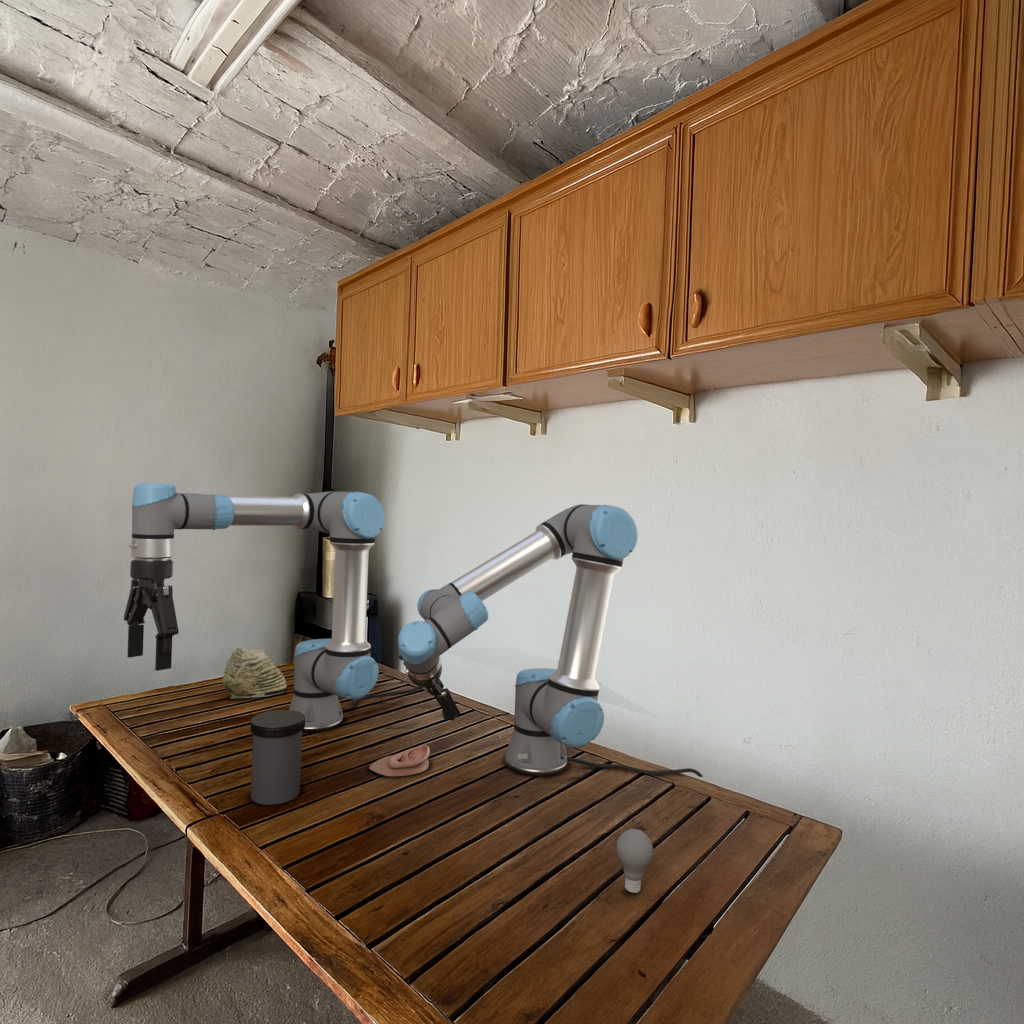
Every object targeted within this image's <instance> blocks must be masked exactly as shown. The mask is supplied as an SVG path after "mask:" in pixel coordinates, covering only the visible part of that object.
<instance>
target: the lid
mask: <svg viewBox="0 0 1024 1024" xmlns="http://www.w3.org/2000/svg"><path fill="white" fill-rule="evenodd" d="M304 727H305V715H304V714H303V713H301V712H298V711H293V710H289V709H275V710H269V711H264V712H261V713H258V714H256V715H254V716H253V717H252V718H251V719H250V733H251V734H252V735H253V734H254V735H256V736H259V737H266V738H278V737H286V736H290V735H294V734H296V733H299V732H300V731H302V730H303V729H304Z"/></svg>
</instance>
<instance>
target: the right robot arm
mask: <svg viewBox="0 0 1024 1024" xmlns="http://www.w3.org/2000/svg"><path fill="white" fill-rule="evenodd" d="M638 536H639V535H638V527H637V523H636V522H635V520H634V518H633V517H632V515H631V514H630V513H629V512H628V511H627V510H625V509H624V508H621V507H619V506H614V505H611V504H609V505H608V504H582V503H581V504H580V503H579V504H575V505H572V506H570V507H568V508H566V509H563V510H562V511H560V512H557V513H556V514H555V515H553V516H551V517H549V518H548V519H546V520H544V521H543V522H541V523H539V524H538V525H537V526H536V527H535V531H534V532H533V533H531V534H529V535H527V536H526V537H524V538H523V539H521V540H519V541H518V542H516V543H513V545H510V546H509V547H508V548H506V549H504V550H503V551H501V552H499V553H498V554H495V555H494V556H492V557H491V558H490V559H487V560H486V561H484V562H482V563H480V564H479V565H477V566H476V567H474V568H473V569H471V570H469V571H468V572H466V573H464V574H462V575H461V576H460V577H457V578H456V579H454V580H453V581H450V582H449V583H446V584H445V585H444V586H442V587H440V588H434V589H428V590H425V591H424V592H423V593H422V594H421V595H420V596H419V598H418V599H417V605H416V606H417V608H416V609H417V612H418V615H419V616H420V617H421V618H422V619H423V620H416V621H411V622H408V623H406V624H405V625H404V626H403V628H401V630H400V632H399V634H398V639H397V645H398V652H399V655H398V659H399V660H400V661H403V662H402V663H403V665H404V667H405V670H404V672H405V674H406V675H407V676H408V678H409V681H411V683H412V684H414V685H416V687H418V686H421V687H420V688H425V689H426V691H427V693H429V695H431V696H432V697H434V699H435V700H436V702H437V703H438V704H439V706H440V708H441V709H442V710H441V713H442V717H443V719H444V721H446V722H447V721H448V720H450V721H452V722H453V721H454V720H456V719H457V718H458V717H459V716H460V715H461V711H460V709H459V708H458V706H457V704H456V702H455V701H454V698H453V697H452V695H451V692H450V690H449V689H448V688H447V687H444V686H445V685H444V683H443V681H442V680H441V679H440V678H441V675H442V672H443V665H442V661H441V660H442V659H441V655H443V654H444V653H446V652H447V651H448V650H450V649H451V648H453V647H454V646H455V645H456V644H458V643H459V642H461V641H462V640H463V639H466V638H467V637H468V636H470V634H472V633H474V632H475V631H477V630H478V629H479V628H480V627H482V626H483V625H484V624H485V623H486V622H487V621H488V619H489V617H490V616H489V615H490V614H489V611H488V609H487V606H486V605H485V603H484V601H485V600H487V599H489V598H490V597H492V596H493V595H495V594H497V593H498V592H500V591H501V590H503V589H504V588H506V587H508V586H510V585H511V584H513V583H514V582H516V581H518V580H519V579H520V578H523V577H524V576H526V575H527V574H529V573H530V572H532V571H534V570H535V569H537V568H538V567H540V566H542V565H544V564H545V563H547V562H548V561H550V560H555V561H556V560H557V561H558V560H559V559H561V558H562V557H564V556H567V555H570V554H571V560H572V562H573V563H574V565H575V568H576V569H575V576H574V580H573V585H572V586H573V587H572V590H571V591H572V592H571V594H570V601H569V606H568V611H567V616H566V621H565V628H564V631H563V638H562V642H561V647H560V653H559V658H558V664H557V669H556V668H548V667H547V668H545V667H541V668H540V667H539V668H537V667H536V668H526V669H522V670H520V671H518V673H517V674H516V680H515V683H514V684H515V685H514V687H515V692H514V696H515V697H514V716H513V717H514V720H513V723H514V724H513V731H512V734H511V737H510V740H509V742H508V745H507V748H506V751H505V755H504V756H505V757H504V763H505V765H506V766H507V767H508V768H509V769H511V770H512V771H514V772H516V773H519V774H522V775H527V776H533V777H547V776H554V775H558V774H560V773H562V772H564V771H565V770H566V769H567V767H568V762H570V763H571V762H572V763H576V764H581V765H585V766H588V767H592V768H599V769H622V770H627V771H633V772H635V773H641V774H644V775H668V774H683V773H692V774H695V775H696V776H697V777H699V778H703V777H704V776H703V774H702V773H701V772H700V771H699V770H697V769H694V768H689V767H687V768H679V769H678V768H677V769H658V770H652V769H651V770H650V769H643V768H638V767H635V766H630V765H627V764H617V763H616V764H615V763H596V762H590V761H586V760H583V759H578V758H574V757H570V756H568V754H567V750H566V747H569V748H573V749H576V748H582V747H585V746H587V745H589V744H590V743H591V742H592V741H593V740H595V739H596V738H597V737H598V735H600V733H601V731H602V729H603V726H604V723H605V713H604V708H602V705H601V703H600V702H599V701H598V700H599V699H598V698H599V697H598V696H599V694H600V684H598V682H597V680H596V679H595V677H596V672H597V667H598V661H599V655H600V650H601V645H602V640H603V634H604V630H605V629H604V628H605V623H606V618H607V612H608V607H609V603H610V597H611V591H612V586H613V580H614V577H615V576H614V575H615V574H616V573H618V572H619V571H621V570H622V568H623V565H624V559H625V558H628V557H629V556H630V555H631V553H633V552H634V550H635V548H636V546H637V544H638V539H639V537H638ZM668 770H669V771H668Z"/></svg>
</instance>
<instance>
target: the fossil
mask: <svg viewBox="0 0 1024 1024" xmlns="http://www.w3.org/2000/svg"><path fill="white" fill-rule="evenodd" d="M222 676H223V677H222V685H223V687H224V688H225V690H226V691H228V693H229V698H230V699H250V698H264V697H271V696H275V695H281V694H284V693H285V691H286V689H287V687H288V686H287V680H286V678H285V676H284V674H283V673H282V672H281V669H279V668H278V667H277V665H276V663H275V662H274V660H273V659H272V658H271V657H270V656H269V655H268V654H267V653H266V652H265V650H264V649H263V648H260V647H258V648H251V647H247V646H246V647H245V646H238V647H237V648H236V649H235V650H233V651H232V653H231V656H230V657H229V659H228V660H227V663H226V666H225V668H224V671H223V675H222Z"/></svg>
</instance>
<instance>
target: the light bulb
mask: <svg viewBox="0 0 1024 1024" xmlns="http://www.w3.org/2000/svg"><path fill="white" fill-rule="evenodd" d="M615 849H616V854H617V857H618V859H619V861H620V863H621V865H622V867H623V873H624V874H623V875H624V876H625V878H624V888H625V890H627V891H628V892H630V893H634V894H635V893H639V892H640V891H641V889H642V887H641V886H642V879H643V877H644V875H645V871H646V868H647V867H648V866H649V864H650V863H651V861H652V859H653V855H654V847H653V843H652V841H651V838H649V836H648V835H647V834H646V833H645V832H643V831H642V830H641V829H636V828H629V829H627V830H625V831H623V832H622V833H621V834H620V835H619V837H618V839H617V841H616V847H615Z"/></svg>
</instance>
